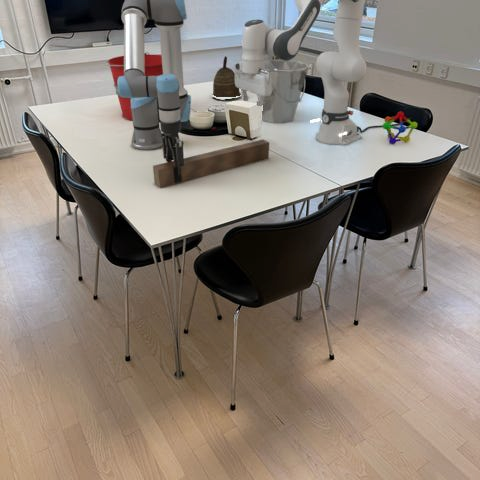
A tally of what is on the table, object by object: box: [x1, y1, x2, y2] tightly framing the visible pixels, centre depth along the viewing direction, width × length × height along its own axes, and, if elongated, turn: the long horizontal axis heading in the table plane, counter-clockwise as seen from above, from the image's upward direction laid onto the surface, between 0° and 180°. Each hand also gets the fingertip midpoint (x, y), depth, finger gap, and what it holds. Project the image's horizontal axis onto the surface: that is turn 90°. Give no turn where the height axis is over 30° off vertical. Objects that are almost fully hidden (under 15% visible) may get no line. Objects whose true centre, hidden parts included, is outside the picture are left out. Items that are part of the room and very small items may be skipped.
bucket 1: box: [104, 51, 163, 121], centre depth 240 cm, size 35×35×30 cm
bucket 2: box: [256, 59, 309, 124], centre depth 236 cm, size 30×30×28 cm
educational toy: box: [382, 110, 418, 145], centre depth 207 cm, size 16×13×15 cm
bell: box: [212, 56, 242, 97], centre depth 278 cm, size 19×26×20 cm
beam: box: [152, 139, 270, 189], centre depth 180 cm, size 52×5×7 cm, turn 125°
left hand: (175, 179), depth 172 cm, fingers closed on beam, 5 cm apart
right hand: (252, 103), depth 178 cm, fingers open, 8 cm apart
